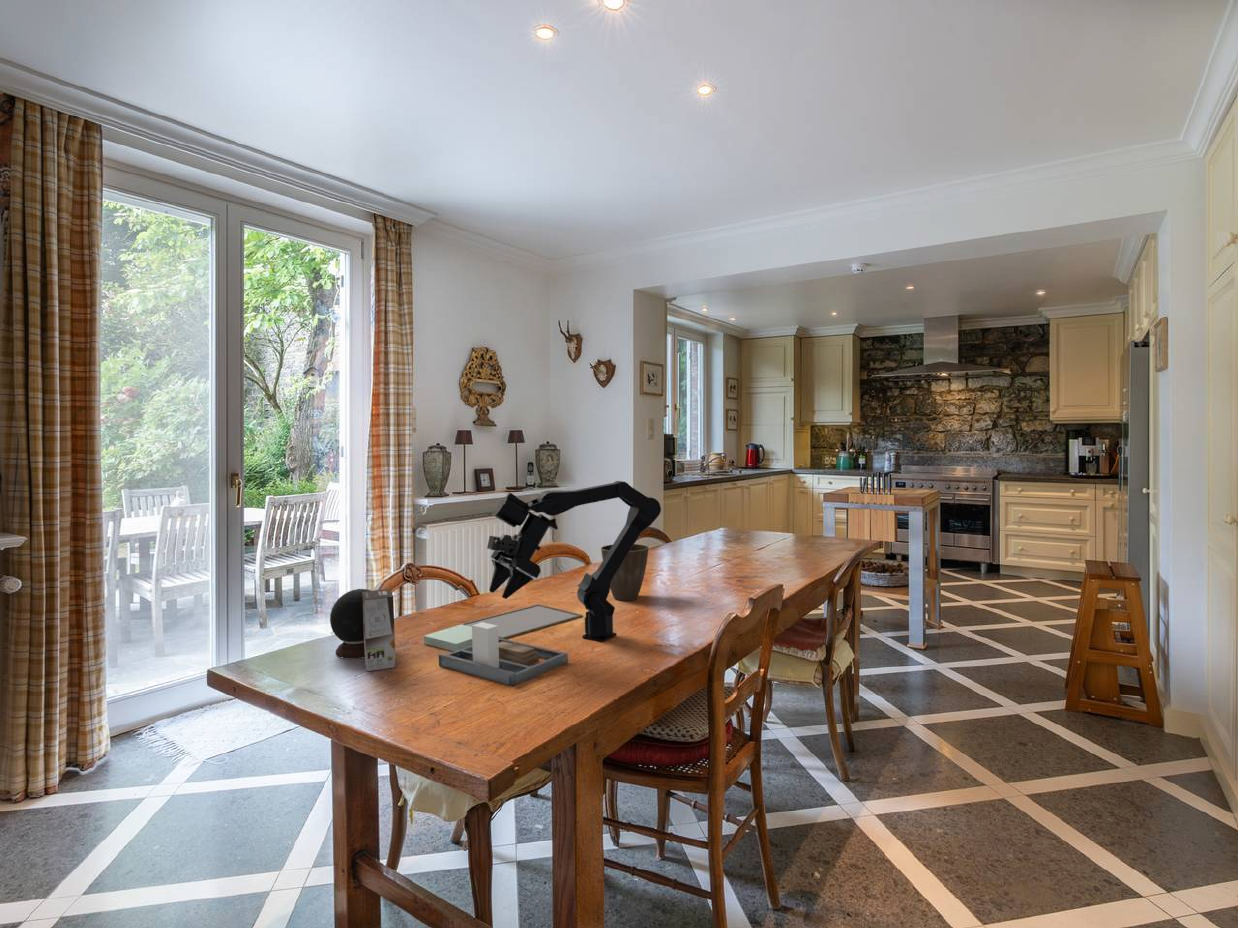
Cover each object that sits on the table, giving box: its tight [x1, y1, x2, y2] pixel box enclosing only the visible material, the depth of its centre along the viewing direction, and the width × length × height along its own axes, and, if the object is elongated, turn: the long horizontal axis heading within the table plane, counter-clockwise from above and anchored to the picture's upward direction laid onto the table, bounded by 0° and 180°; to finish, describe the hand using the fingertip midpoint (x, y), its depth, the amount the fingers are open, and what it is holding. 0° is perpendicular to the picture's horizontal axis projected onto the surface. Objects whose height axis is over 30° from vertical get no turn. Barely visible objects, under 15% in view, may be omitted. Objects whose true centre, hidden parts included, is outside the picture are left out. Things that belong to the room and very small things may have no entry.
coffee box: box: [363, 588, 396, 672], centre depth 152 cm, size 9×6×16 cm
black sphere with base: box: [329, 588, 372, 659], centre depth 162 cm, size 13×13×15 cm
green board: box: [423, 623, 472, 652], centre depth 168 cm, size 12×12×2 cm
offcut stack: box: [499, 641, 540, 666], centre depth 153 cm, size 12×5×4 cm, turn 58°
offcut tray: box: [438, 638, 569, 687], centre depth 151 cm, size 23×18×2 cm
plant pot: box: [600, 543, 649, 602], centre depth 210 cm, size 15×15×16 cm
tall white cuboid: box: [472, 622, 499, 668], centre depth 147 cm, size 5×3×10 cm, turn 54°
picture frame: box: [458, 603, 584, 640], centre depth 186 cm, size 19×1×28 cm
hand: (497, 594), depth 159 cm, fingers open, 9 cm apart
